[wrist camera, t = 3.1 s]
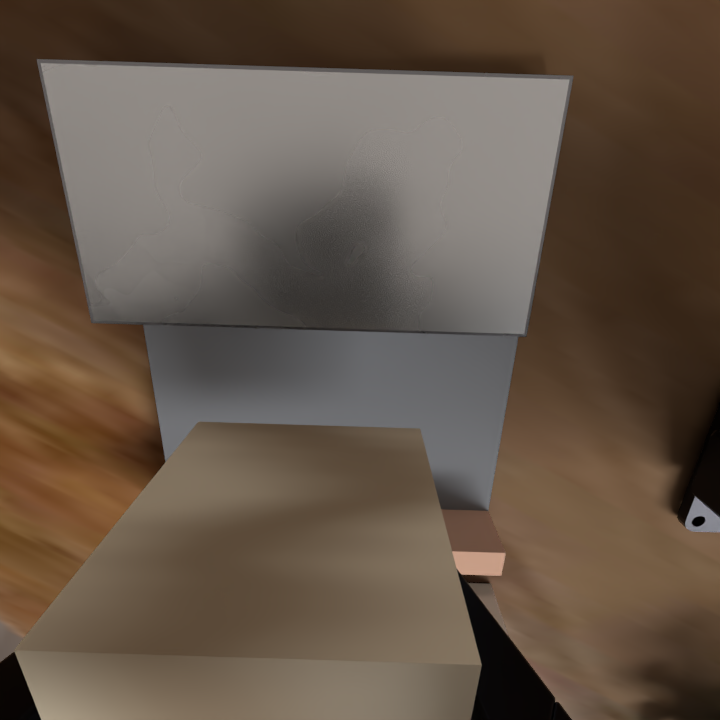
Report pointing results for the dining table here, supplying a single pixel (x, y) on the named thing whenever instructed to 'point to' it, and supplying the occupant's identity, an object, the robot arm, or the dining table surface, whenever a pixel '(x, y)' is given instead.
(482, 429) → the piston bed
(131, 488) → the dining table surface
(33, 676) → the block
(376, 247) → the grey square block
